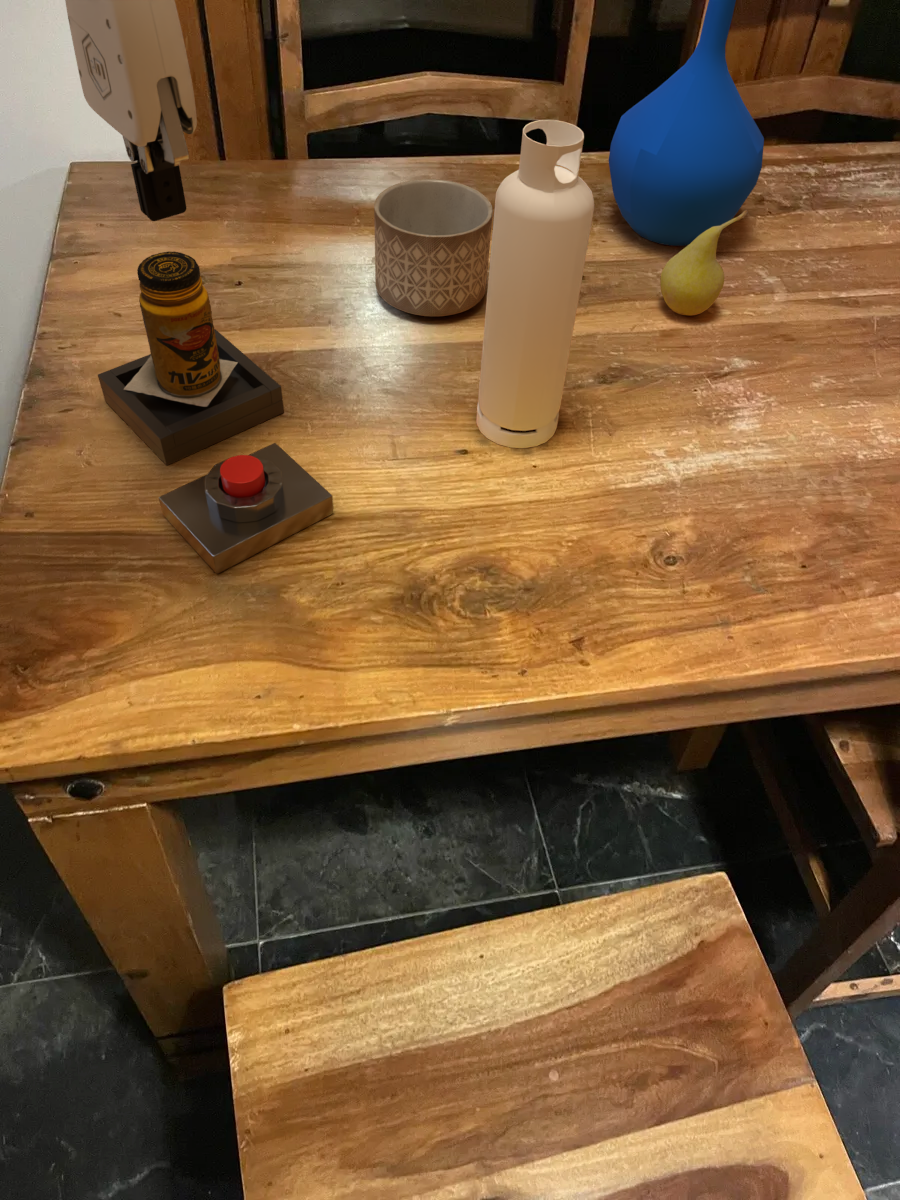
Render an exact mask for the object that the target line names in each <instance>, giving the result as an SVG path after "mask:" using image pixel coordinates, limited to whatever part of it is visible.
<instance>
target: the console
mask: <svg viewBox="0 0 900 1200" xmlns="http://www.w3.org/2000/svg"><path fill="white" fill-rule="evenodd" d="M248 455H249V456H253V457H255V458H257V459H259V460H260V461H261V463H262V464H263V469H264V476H265V486H264V488H263V490H262V491H261V492H260V493H258V494H256V495H254V496H252V497H243V498H236V497H232V496H230V495H228V494H227V493H226V492H225V491H224V489H223V485H222V480H221V474H220V468H221V465H222V464H223V463H224V462H225V461H226V460H227V459H228V458H227V459H224V460H222V461H220V462H218V463H215V464H214V465H213V466H212V467H211V469H210V470H209V471H208V473H207V474H204V475H203V476H200V477H199V478H196V479H194V480H192V481H189V482H188V483H185V484H184V485H182V486H179V487H177V488H175V489H173V490H171V491H169V492H167V493H164V494H162V495H160V496H158V501H159V504H160V509H161V513H162V516H163V517H164V518H165V520H167V521H168V522H169V524H171V526H172V527H173V528H174V529H175V530H176V531H177V532H178V533H179V534H180V536H182V538H183V539H184V540H185V541H186V542H187V543H188V544H189V545H190V547H191V548H193V550H194V551H195V552H196V553H197V554H198V555H199V557H200V558H201V559H202V560H203V561H204V562H205V563H206V564H207V565H208V566H209V567H210V568H211V570H212V571H213V572H214V573H215V574H216V575H219V574H221V573H222V572H224V571H226V570H229V569H230V568H232V567H234V566H236V565H238V564H239V563H242V562H243V561H245V560H248V559H249V558H251V557H253V556H255V555H257V554H259V553H260V552H263V551H265V550H266V549H268V548H270V547H272V546H274V545H276V544H278V543H280V542H281V541H284V540H285V539H287V538H289V537H291V536H293V535H295V534H297V533H298V532H300V531H303V530H304V529H306V528H308V527H310V526H312V525H314V524H316V523H317V522H321V521H322V520H324V519H325V518H328V517H329V516H331V515H333V514H334V500H333V499H334V498H333V495H332V494H331V492H329V491H328V489H326V488H325V487H324V486H323V485H322V484H321V483H319V482H318V481H317V480H316V479H315V478H314V477H313V476H312V475H311V474H310V473H308V471H307V470H306V469H304V468H303V467H302V466H301V465H300V464H299V463H298V462H297V461H295V460H294V458H292V457H291V456H290V455H289V454H288V453H287V452H286V451H284V449H283V448H282V447H281V446H280V445H278V444H277V443H276V442H274V443H271V444H268V445H267V446H264V447H263V448H261V449H258V450H256V451H254V452H251V453H250V454H248Z"/></svg>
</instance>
